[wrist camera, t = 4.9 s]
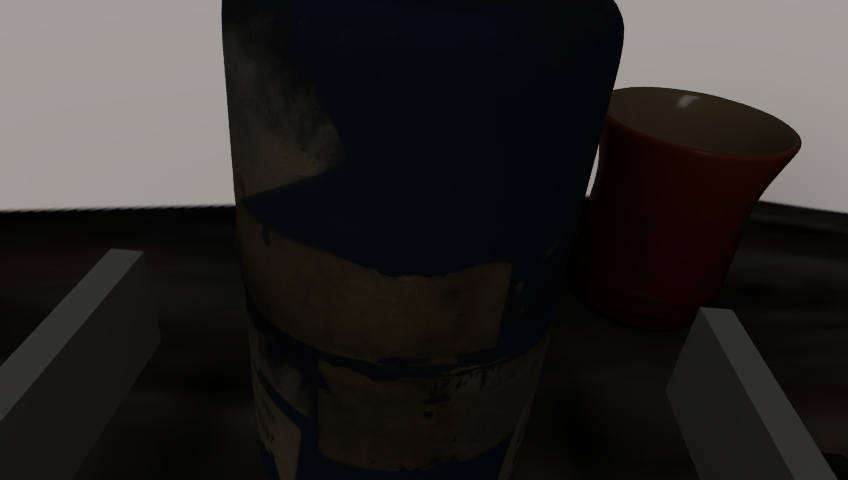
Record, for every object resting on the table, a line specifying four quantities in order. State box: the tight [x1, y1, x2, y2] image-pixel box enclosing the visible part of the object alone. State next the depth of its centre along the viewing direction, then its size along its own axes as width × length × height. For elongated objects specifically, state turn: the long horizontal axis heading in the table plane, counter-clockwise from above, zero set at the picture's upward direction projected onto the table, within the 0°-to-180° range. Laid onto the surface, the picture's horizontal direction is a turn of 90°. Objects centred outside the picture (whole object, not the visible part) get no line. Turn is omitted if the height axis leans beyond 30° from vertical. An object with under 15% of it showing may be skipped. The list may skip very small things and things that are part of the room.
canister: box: [222, 0, 624, 480], centre depth 18 cm, size 10×10×18 cm
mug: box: [574, 87, 801, 331], centre depth 31 cm, size 12×9×10 cm
